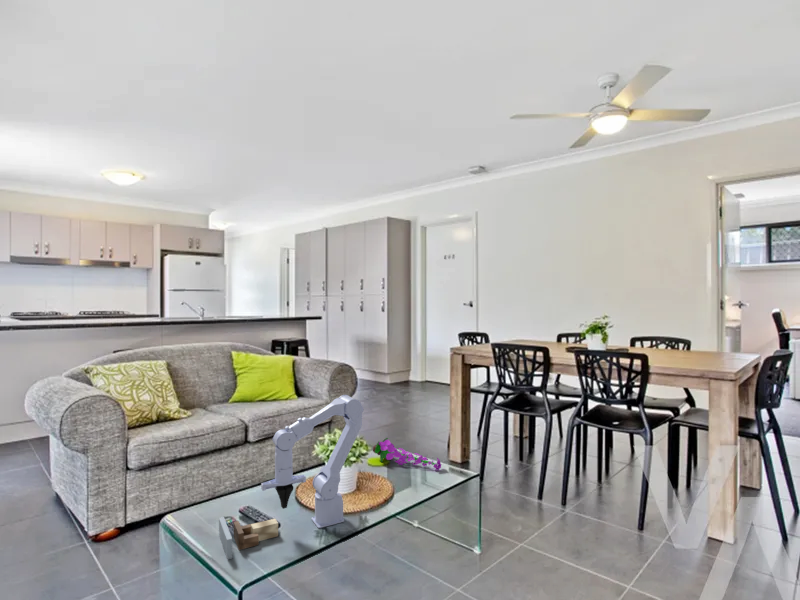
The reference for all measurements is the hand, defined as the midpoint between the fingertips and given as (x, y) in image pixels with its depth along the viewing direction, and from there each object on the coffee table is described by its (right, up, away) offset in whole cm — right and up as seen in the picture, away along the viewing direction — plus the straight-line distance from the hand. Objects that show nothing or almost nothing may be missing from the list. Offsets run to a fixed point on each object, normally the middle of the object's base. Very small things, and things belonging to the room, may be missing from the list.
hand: (284, 507), depth 158 cm
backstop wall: (-16, -9, -9) cm, 20 cm away
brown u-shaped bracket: (-11, -8, -6) cm, 15 cm away
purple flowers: (+42, -8, +63) cm, 76 cm away
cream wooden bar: (-6, -9, -3) cm, 11 cm away
